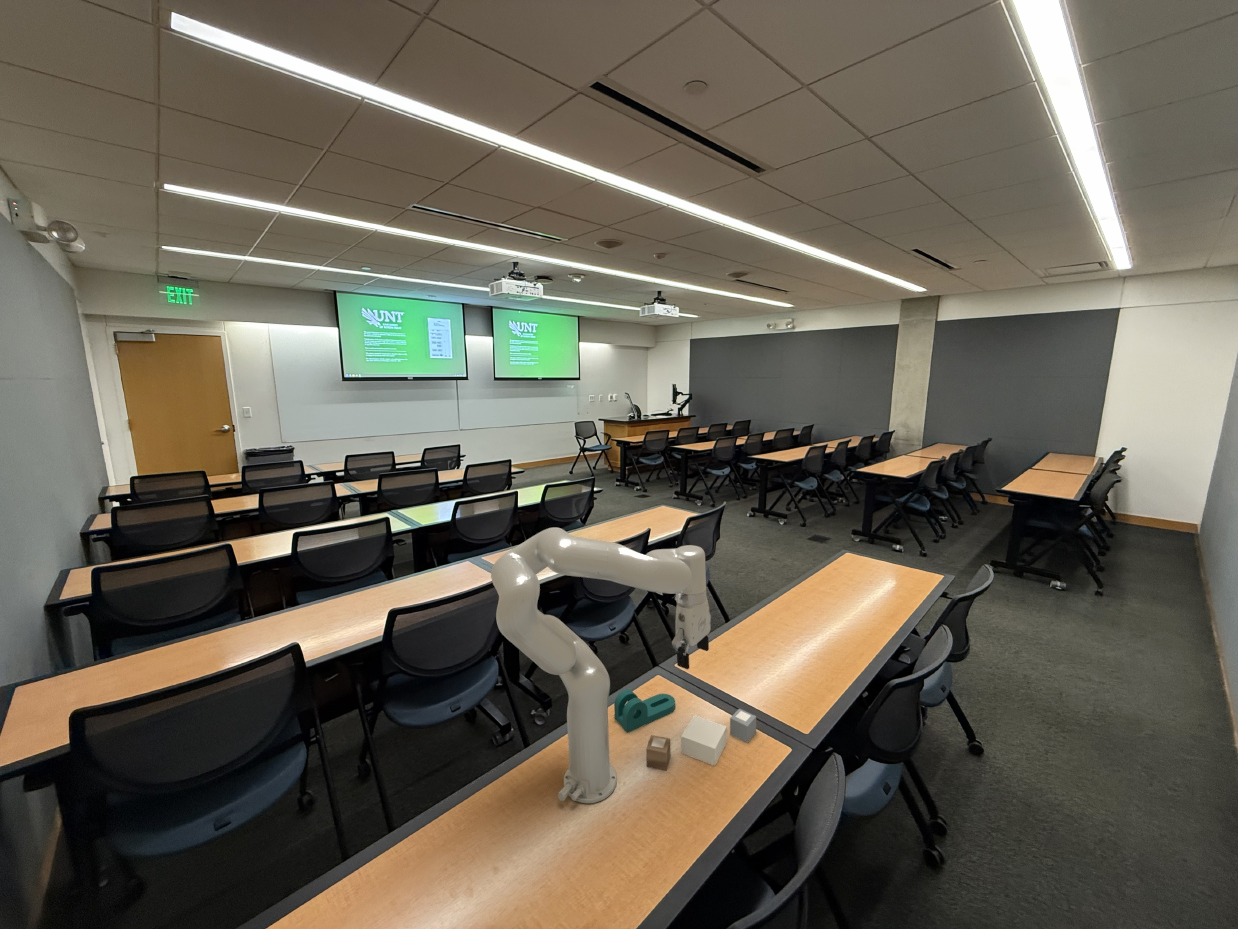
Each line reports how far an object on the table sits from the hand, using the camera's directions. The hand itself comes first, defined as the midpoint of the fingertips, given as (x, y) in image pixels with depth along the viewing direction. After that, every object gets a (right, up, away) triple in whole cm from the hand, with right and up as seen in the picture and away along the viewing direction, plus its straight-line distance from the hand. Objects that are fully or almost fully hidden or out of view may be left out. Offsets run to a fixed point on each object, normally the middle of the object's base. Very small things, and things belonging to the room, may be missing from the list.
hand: (693, 658), depth 122 cm
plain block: (+3, -24, +1) cm, 24 cm away
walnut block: (-9, -25, -3) cm, 27 cm away
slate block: (+14, -23, +6) cm, 28 cm away
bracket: (-11, -23, +15) cm, 29 cm away
